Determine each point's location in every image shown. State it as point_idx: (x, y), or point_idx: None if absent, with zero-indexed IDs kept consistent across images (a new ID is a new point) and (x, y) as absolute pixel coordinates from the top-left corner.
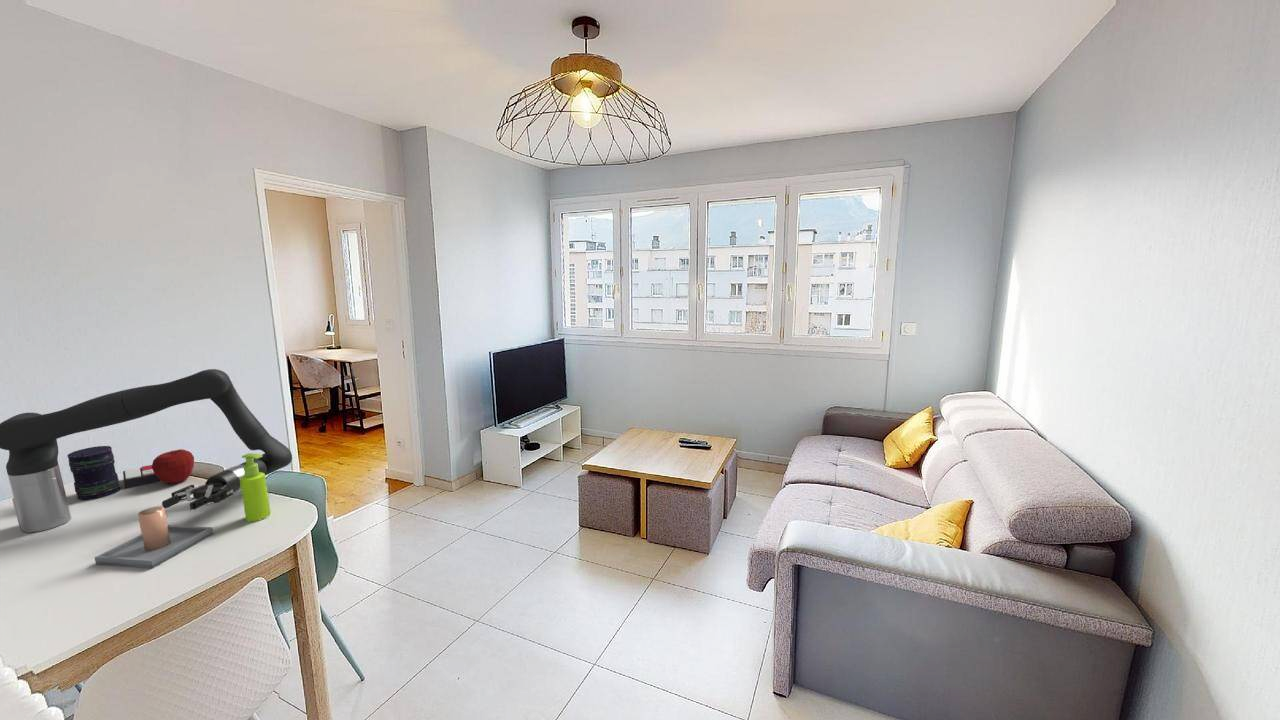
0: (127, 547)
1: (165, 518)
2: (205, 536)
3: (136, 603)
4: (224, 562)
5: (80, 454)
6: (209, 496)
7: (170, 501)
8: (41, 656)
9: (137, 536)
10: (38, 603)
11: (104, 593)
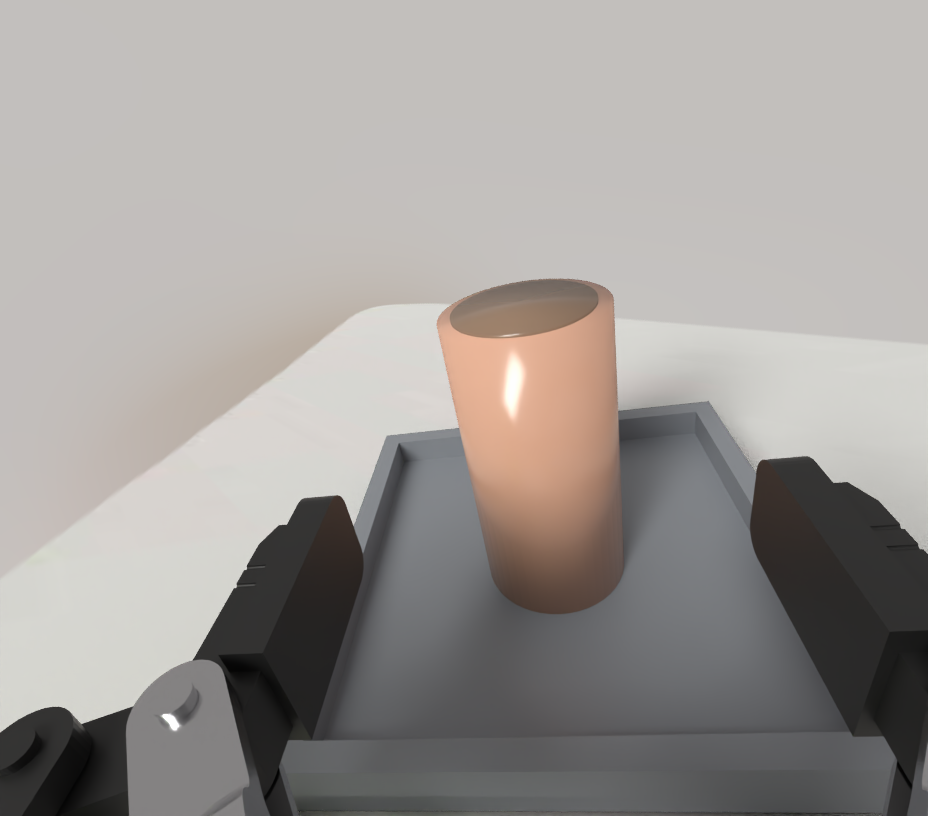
0: (734, 514)
1: (465, 424)
2: None
3: (299, 384)
4: (96, 540)
5: None
6: (143, 715)
7: (797, 550)
8: (366, 312)
9: None
10: None
11: (436, 382)
